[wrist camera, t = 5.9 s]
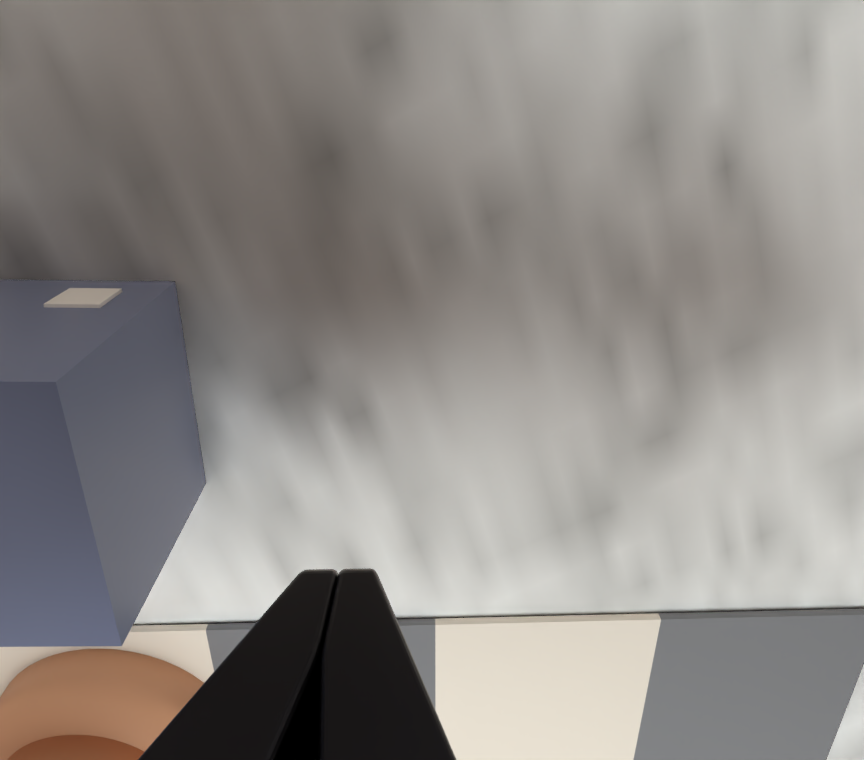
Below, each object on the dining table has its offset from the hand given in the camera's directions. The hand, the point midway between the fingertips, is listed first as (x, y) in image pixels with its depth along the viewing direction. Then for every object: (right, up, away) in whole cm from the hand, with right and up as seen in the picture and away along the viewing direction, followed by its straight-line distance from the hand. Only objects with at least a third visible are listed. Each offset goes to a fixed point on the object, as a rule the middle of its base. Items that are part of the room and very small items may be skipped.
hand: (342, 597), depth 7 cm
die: (-6, +2, +5) cm, 8 cm away
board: (-2, -7, +10) cm, 12 cm away
